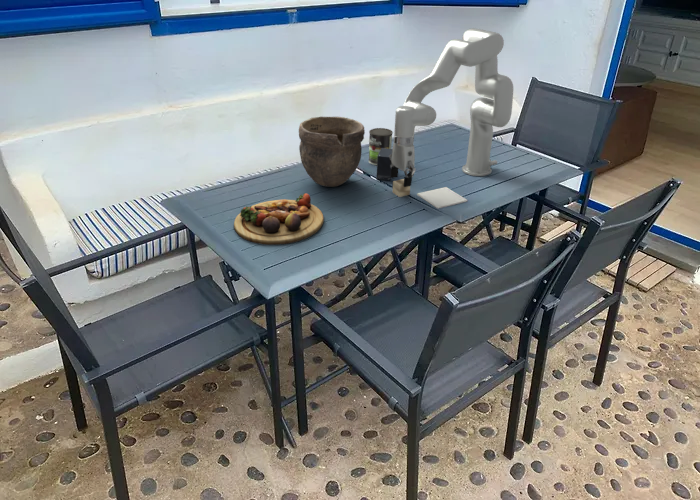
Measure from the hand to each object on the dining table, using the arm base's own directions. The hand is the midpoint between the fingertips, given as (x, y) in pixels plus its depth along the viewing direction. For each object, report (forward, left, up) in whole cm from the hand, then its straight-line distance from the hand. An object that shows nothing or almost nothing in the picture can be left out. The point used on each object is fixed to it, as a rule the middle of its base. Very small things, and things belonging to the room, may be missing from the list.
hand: (400, 181), depth 215 cm
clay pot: (+19, -22, -5) cm, 30 cm away
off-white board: (-13, +11, -5) cm, 17 cm away
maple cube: (-1, 0, -5) cm, 5 cm away
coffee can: (-11, -34, -5) cm, 36 cm away
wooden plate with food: (+52, +2, -6) cm, 52 cm away
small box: (-5, -19, -6) cm, 20 cm away
